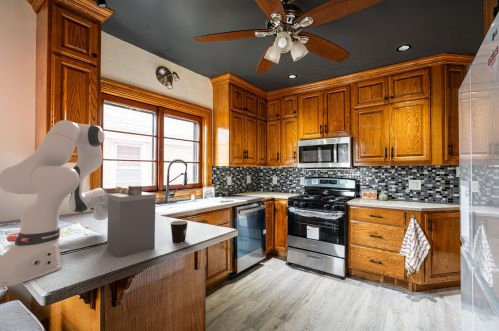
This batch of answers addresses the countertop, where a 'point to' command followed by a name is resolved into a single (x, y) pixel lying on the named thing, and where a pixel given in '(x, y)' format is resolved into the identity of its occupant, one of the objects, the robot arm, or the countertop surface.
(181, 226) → the coffee mug
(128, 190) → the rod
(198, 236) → the countertop surface
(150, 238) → the case
